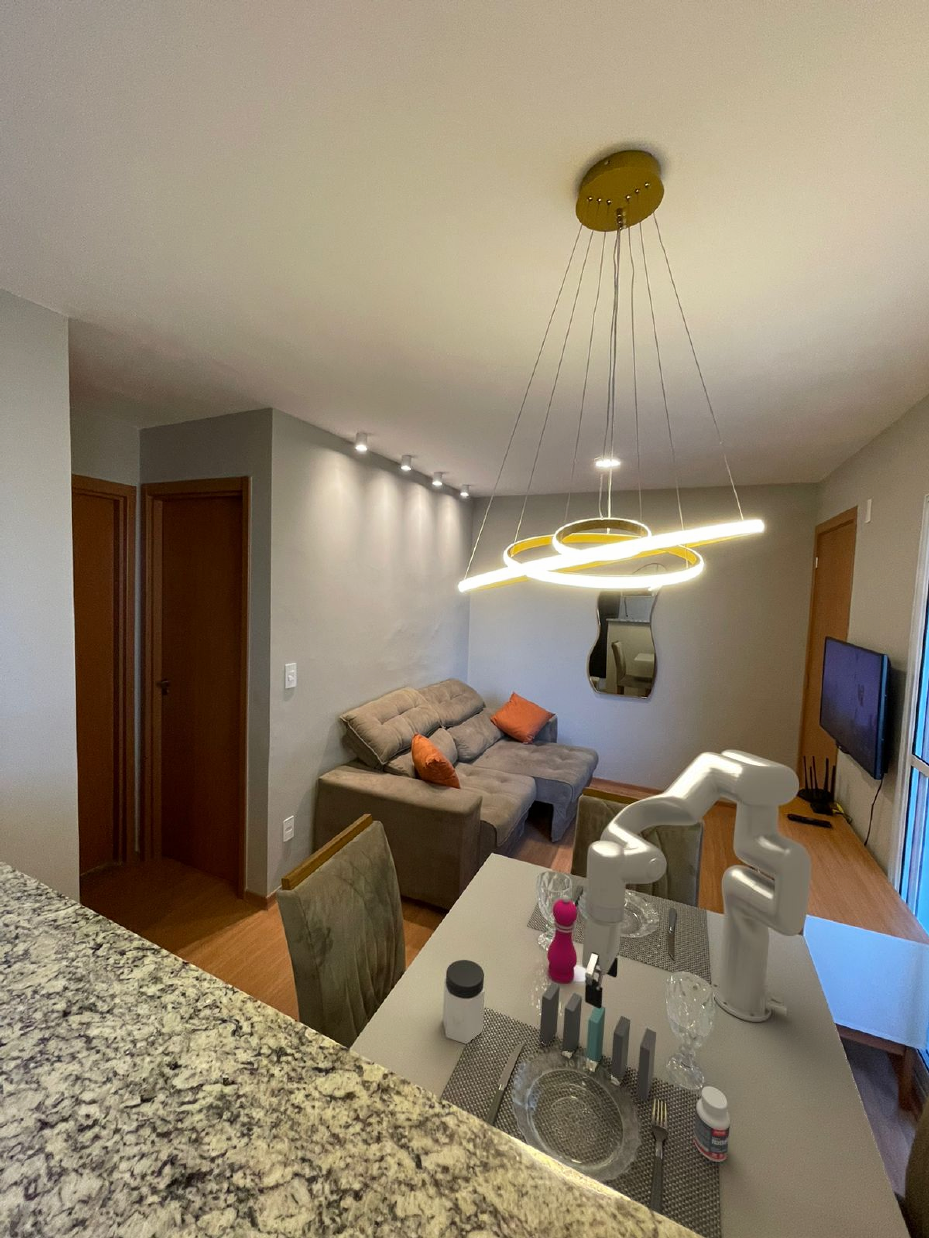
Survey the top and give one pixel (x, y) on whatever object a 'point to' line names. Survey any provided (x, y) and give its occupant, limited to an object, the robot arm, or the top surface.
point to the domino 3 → (595, 1034)
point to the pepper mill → (563, 942)
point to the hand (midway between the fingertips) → (601, 988)
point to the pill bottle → (712, 1125)
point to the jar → (463, 1001)
